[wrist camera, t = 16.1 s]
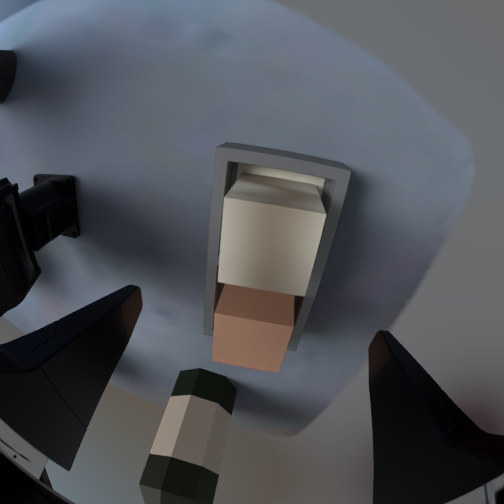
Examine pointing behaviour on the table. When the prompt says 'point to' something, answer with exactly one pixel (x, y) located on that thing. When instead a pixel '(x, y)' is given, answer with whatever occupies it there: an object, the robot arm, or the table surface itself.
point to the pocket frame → (281, 166)
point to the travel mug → (6, 72)
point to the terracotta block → (252, 327)
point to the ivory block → (270, 234)
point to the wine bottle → (190, 441)
